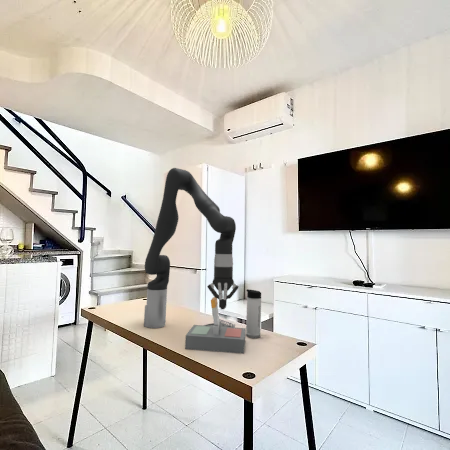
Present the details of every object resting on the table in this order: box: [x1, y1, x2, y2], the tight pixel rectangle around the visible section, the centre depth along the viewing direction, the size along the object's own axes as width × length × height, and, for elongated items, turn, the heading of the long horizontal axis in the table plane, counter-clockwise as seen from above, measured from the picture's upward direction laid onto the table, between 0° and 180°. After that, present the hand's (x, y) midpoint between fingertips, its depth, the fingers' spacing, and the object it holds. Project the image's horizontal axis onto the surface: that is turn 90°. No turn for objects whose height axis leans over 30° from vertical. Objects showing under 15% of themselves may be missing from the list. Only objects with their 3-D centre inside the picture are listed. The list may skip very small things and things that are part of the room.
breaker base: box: [184, 321, 246, 354], centre depth 112 cm, size 22×14×8 cm, turn 83°
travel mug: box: [245, 288, 262, 339], centre depth 124 cm, size 6×7×20 cm
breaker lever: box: [210, 296, 220, 326], centre depth 113 cm, size 2×6×11 cm, turn 174°
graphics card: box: [204, 318, 236, 328], centre depth 129 cm, size 17×4×12 cm
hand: (222, 308), depth 112 cm, fingers closed
